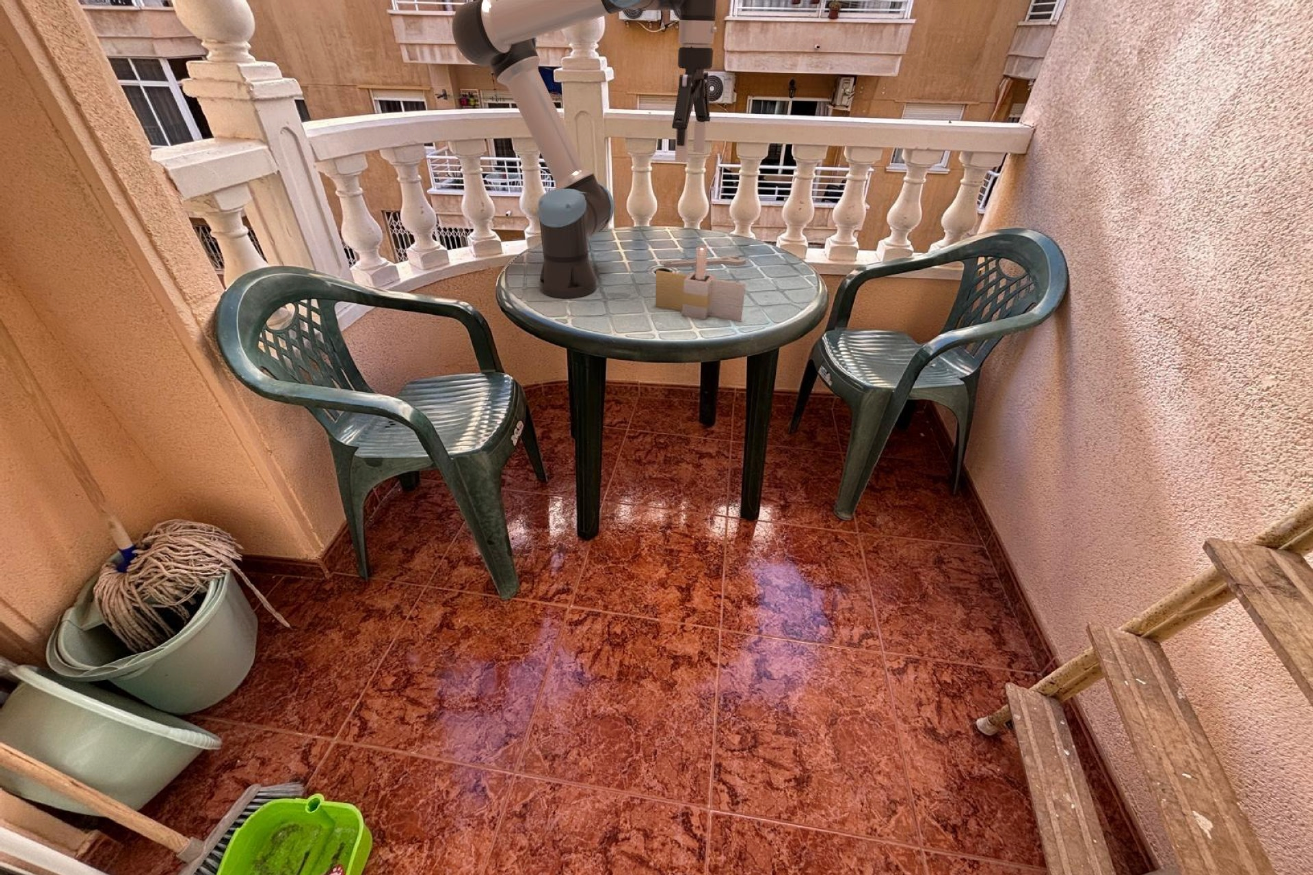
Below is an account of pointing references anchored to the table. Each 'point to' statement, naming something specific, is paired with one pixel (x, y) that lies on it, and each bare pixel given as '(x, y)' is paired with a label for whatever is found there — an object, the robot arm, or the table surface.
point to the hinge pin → (701, 263)
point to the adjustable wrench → (708, 261)
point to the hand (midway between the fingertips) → (690, 157)
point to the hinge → (699, 296)
